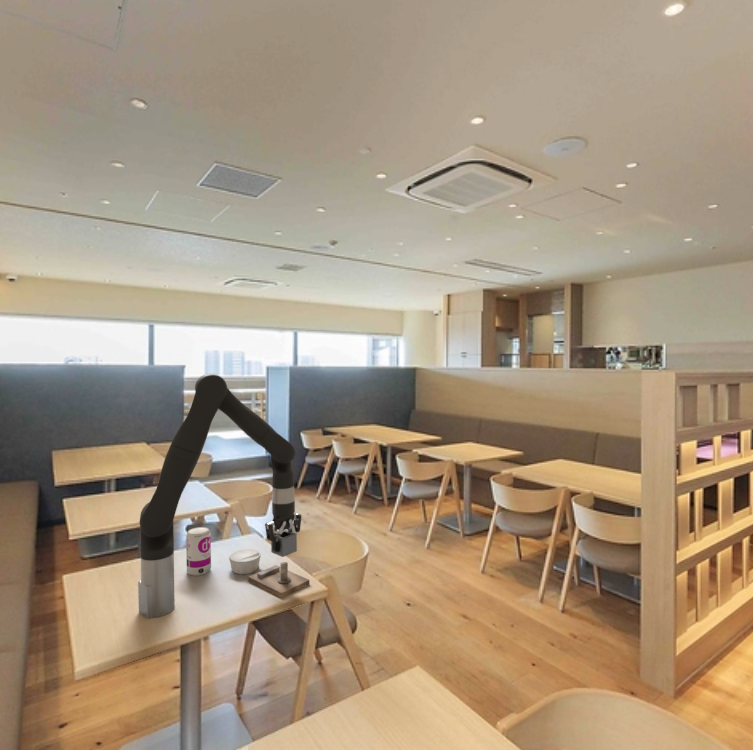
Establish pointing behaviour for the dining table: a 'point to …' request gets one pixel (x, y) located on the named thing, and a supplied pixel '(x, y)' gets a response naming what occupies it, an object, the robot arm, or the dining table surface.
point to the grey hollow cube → (286, 543)
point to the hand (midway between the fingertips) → (284, 548)
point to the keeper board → (278, 580)
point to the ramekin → (244, 561)
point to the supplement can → (198, 551)
